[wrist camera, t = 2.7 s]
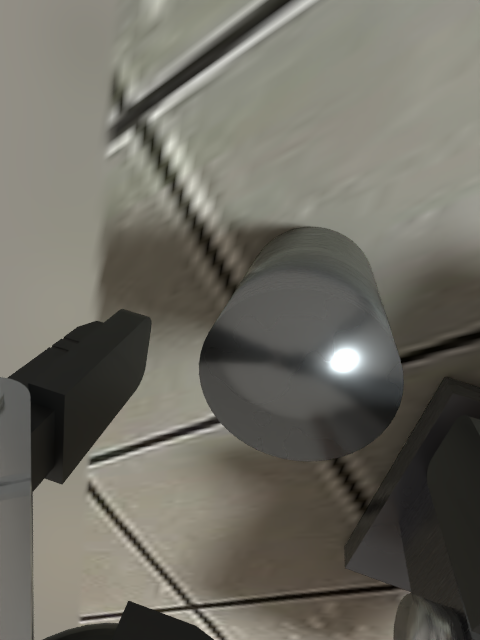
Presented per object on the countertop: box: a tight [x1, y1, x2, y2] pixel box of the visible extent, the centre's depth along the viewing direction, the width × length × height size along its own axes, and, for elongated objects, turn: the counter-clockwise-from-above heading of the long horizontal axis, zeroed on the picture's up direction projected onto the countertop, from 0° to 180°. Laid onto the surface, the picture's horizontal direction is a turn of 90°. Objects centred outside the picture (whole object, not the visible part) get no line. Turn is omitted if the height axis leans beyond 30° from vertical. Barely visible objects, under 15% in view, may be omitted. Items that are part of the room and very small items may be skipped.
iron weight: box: [199, 227, 404, 461], centre depth 13 cm, size 5×5×7 cm
